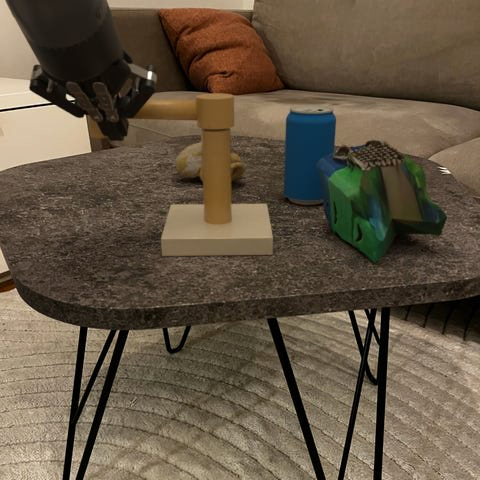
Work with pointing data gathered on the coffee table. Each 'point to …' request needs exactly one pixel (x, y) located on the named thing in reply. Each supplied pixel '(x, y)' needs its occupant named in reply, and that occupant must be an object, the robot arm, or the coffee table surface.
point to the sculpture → (376, 197)
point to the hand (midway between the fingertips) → (117, 133)
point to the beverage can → (307, 151)
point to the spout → (185, 112)
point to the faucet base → (217, 212)
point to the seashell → (192, 163)
